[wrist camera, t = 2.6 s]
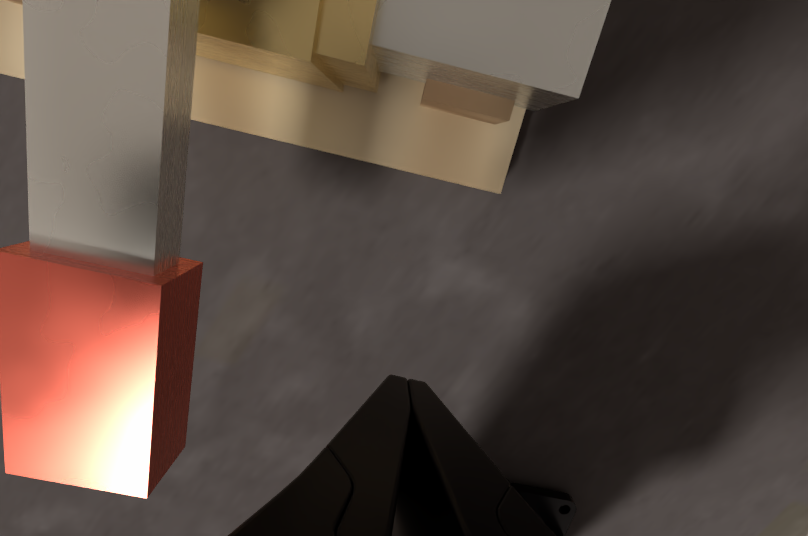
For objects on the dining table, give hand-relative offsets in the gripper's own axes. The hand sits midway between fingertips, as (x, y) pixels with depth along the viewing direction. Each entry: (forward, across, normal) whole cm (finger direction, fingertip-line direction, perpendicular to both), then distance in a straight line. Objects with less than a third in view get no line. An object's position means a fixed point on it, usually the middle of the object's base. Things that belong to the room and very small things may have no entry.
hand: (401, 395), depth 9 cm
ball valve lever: (0, +6, -4) cm, 7 cm away
